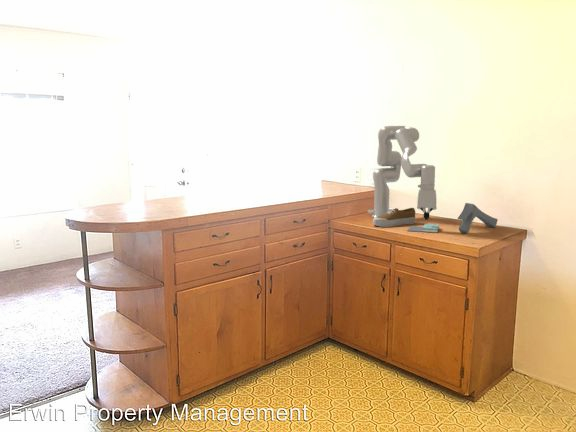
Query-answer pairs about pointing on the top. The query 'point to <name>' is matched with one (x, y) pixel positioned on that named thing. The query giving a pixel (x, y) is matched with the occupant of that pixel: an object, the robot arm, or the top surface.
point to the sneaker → (395, 218)
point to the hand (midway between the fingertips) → (426, 219)
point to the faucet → (472, 212)
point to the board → (430, 228)
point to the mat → (417, 229)
